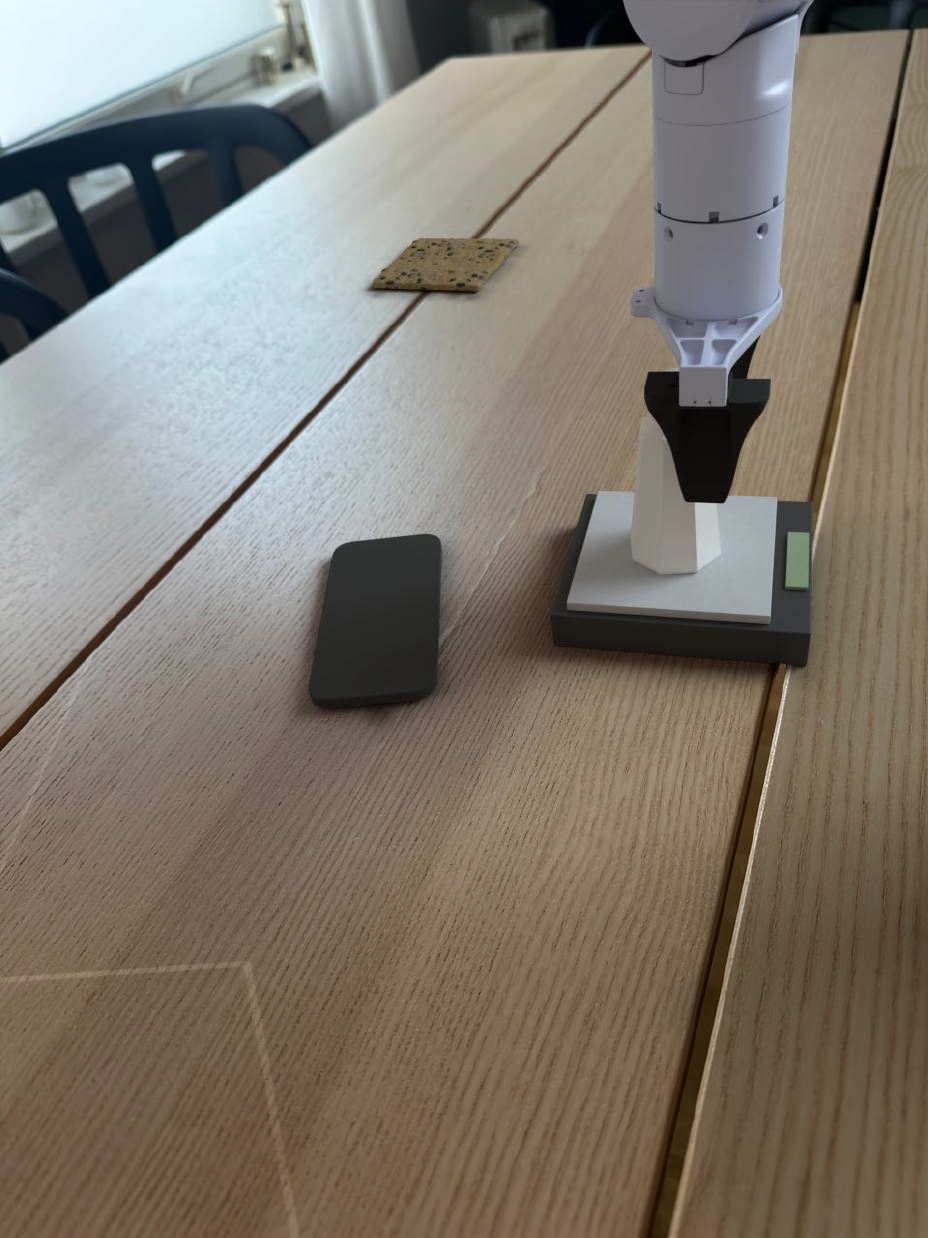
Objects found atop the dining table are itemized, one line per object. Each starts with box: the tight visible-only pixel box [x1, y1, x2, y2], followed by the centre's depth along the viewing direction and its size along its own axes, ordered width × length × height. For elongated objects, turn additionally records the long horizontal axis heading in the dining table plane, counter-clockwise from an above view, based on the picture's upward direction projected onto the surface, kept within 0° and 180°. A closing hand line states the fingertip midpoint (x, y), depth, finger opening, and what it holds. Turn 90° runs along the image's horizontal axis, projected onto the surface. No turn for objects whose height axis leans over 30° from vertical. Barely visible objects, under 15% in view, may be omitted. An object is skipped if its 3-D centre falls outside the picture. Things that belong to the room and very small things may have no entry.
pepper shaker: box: [631, 367, 721, 575], centre depth 54 cm, size 5×5×11 cm
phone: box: [308, 533, 443, 709], centre depth 61 cm, size 7×1×15 cm
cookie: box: [372, 237, 520, 292], centre depth 101 cm, size 12×12×1 cm
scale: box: [549, 490, 814, 667], centre depth 58 cm, size 14×12×3 cm
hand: (711, 457), depth 53 cm, fingers open, 7 cm apart
